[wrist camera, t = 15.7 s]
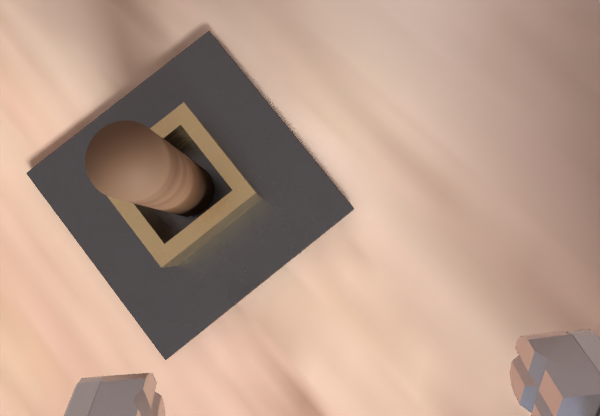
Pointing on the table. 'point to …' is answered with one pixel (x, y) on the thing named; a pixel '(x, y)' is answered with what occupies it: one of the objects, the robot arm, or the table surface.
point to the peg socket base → (216, 217)
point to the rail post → (146, 170)
